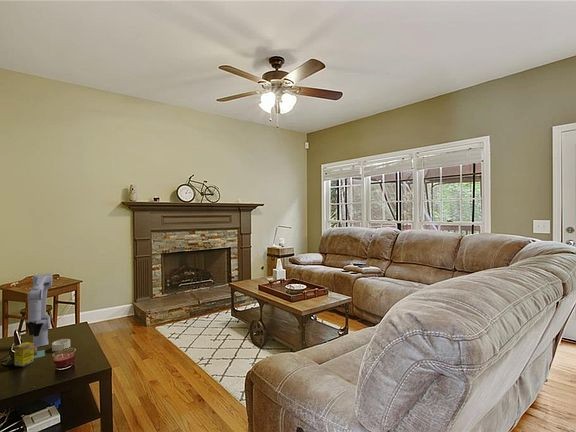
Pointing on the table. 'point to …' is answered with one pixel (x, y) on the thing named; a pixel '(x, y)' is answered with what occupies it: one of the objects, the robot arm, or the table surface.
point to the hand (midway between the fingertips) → (34, 335)
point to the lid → (38, 353)
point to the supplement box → (24, 354)
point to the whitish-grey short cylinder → (60, 344)
